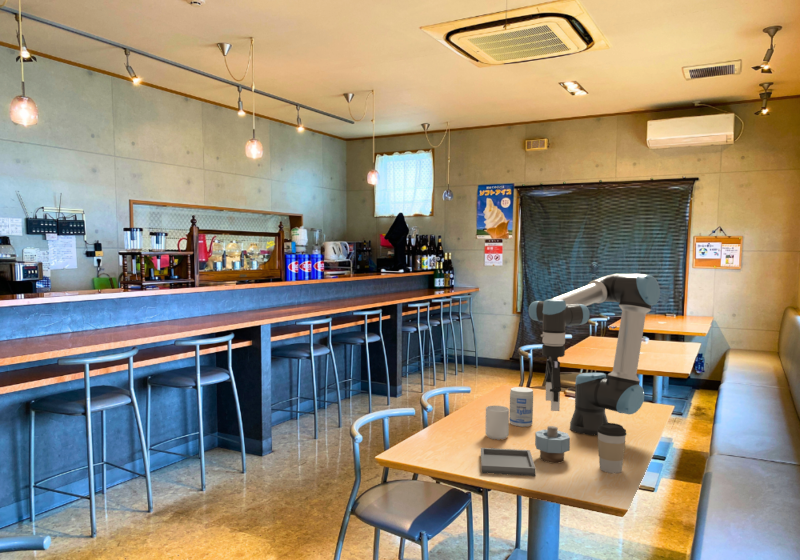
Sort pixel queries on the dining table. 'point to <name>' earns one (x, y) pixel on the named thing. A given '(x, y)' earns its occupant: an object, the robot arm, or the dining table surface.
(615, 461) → the coffee cup
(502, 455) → the tray
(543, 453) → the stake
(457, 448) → the dining table surface
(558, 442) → the ring
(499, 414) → the mug
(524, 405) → the supplement tub
